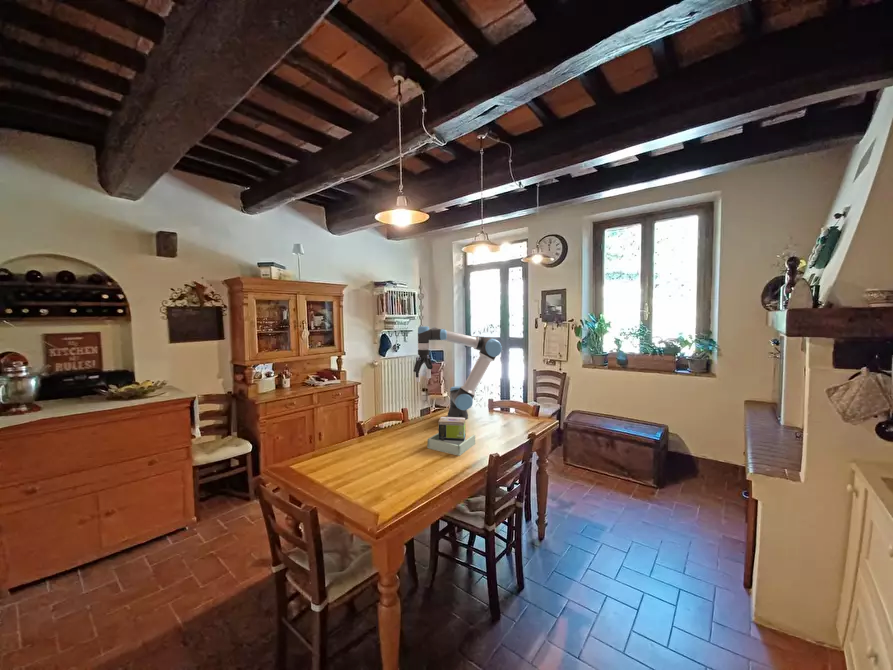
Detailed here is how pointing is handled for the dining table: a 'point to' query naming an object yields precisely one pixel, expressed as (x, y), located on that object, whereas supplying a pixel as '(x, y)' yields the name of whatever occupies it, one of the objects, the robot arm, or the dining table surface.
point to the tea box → (452, 430)
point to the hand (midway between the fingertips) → (423, 380)
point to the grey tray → (450, 445)
